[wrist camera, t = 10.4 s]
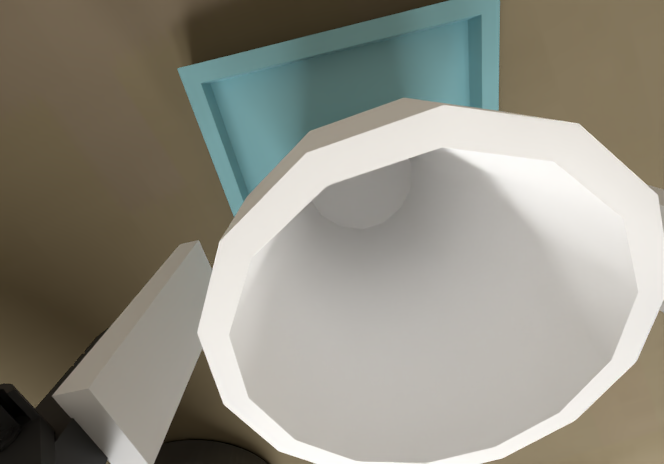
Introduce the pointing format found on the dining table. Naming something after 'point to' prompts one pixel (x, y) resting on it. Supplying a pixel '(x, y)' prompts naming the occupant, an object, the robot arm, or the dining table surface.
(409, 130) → the foam cup
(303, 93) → the tray
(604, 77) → the dining table surface
